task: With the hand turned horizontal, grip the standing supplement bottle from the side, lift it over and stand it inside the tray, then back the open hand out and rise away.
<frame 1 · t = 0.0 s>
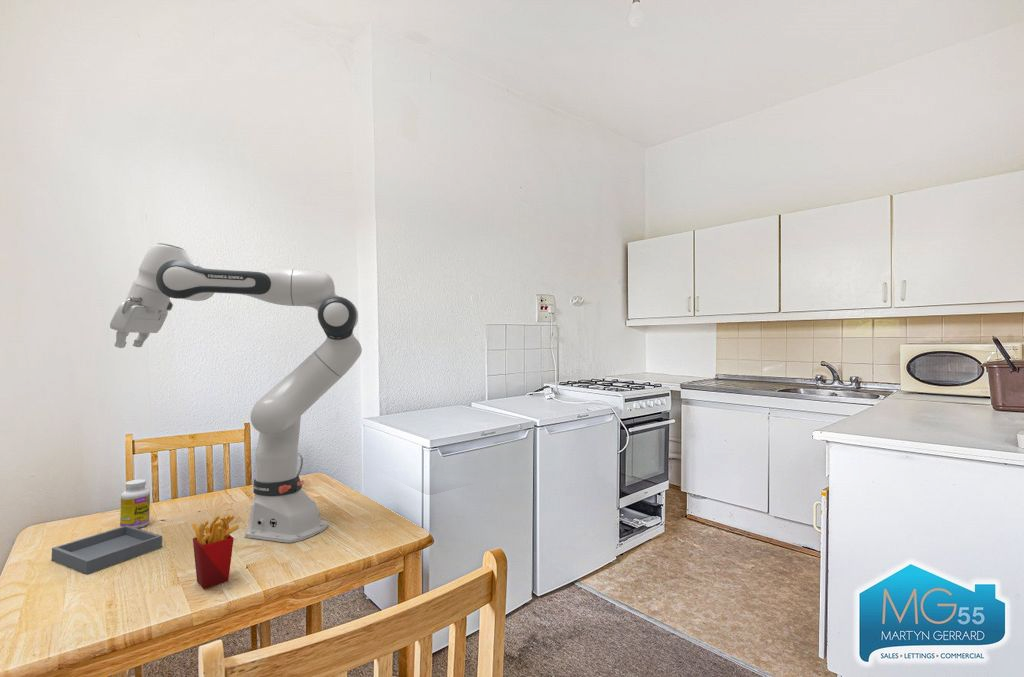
hand: (128, 347, 130), 52 cm above the table, tool tilted 20°, fingers open, 8 cm apart
tray: (108, 553, 121), on the table
french fries: (217, 582, 107), on the table
supplement bottle: (135, 526, 138), on the table
glass holder: (287, 490, 173), on the table
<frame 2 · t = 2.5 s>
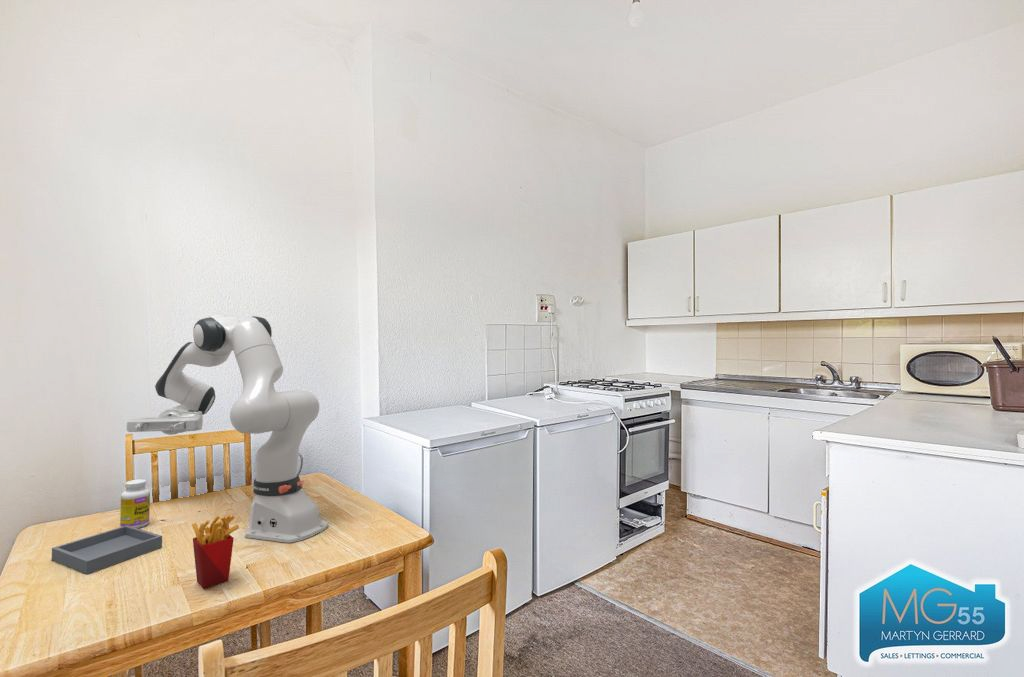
hand: (155, 428, 150), 26 cm above the table, tool horizontal, fingers open, 8 cm apart
nothing on the table moved.
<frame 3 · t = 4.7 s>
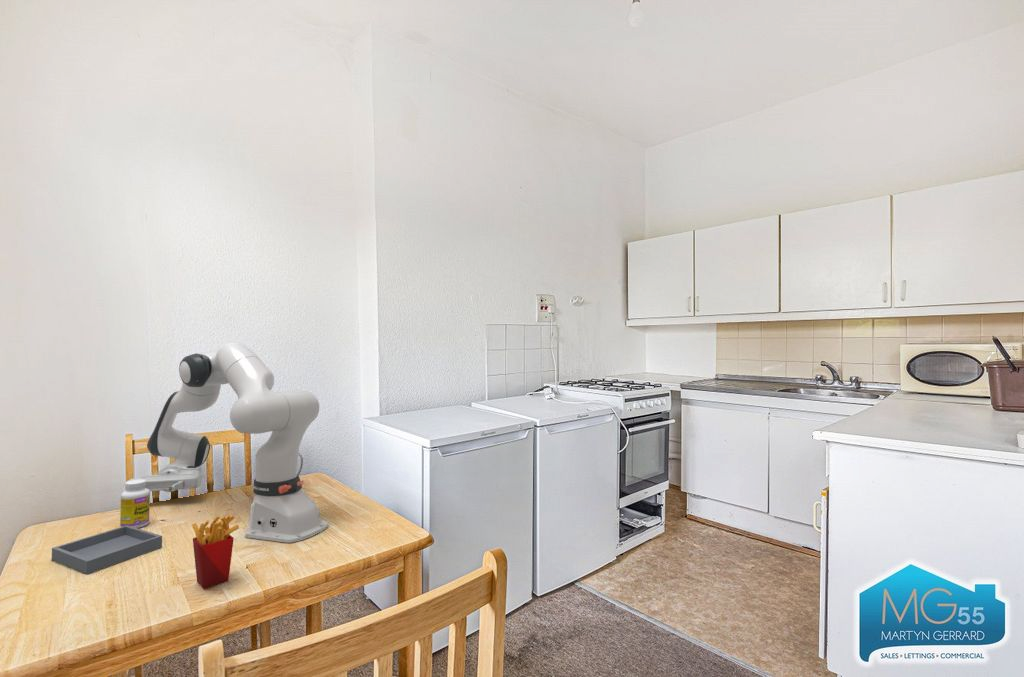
hand: (153, 489, 149), 7 cm above the table, tool horizontal, fingers open, 8 cm apart
nothing on the table moved.
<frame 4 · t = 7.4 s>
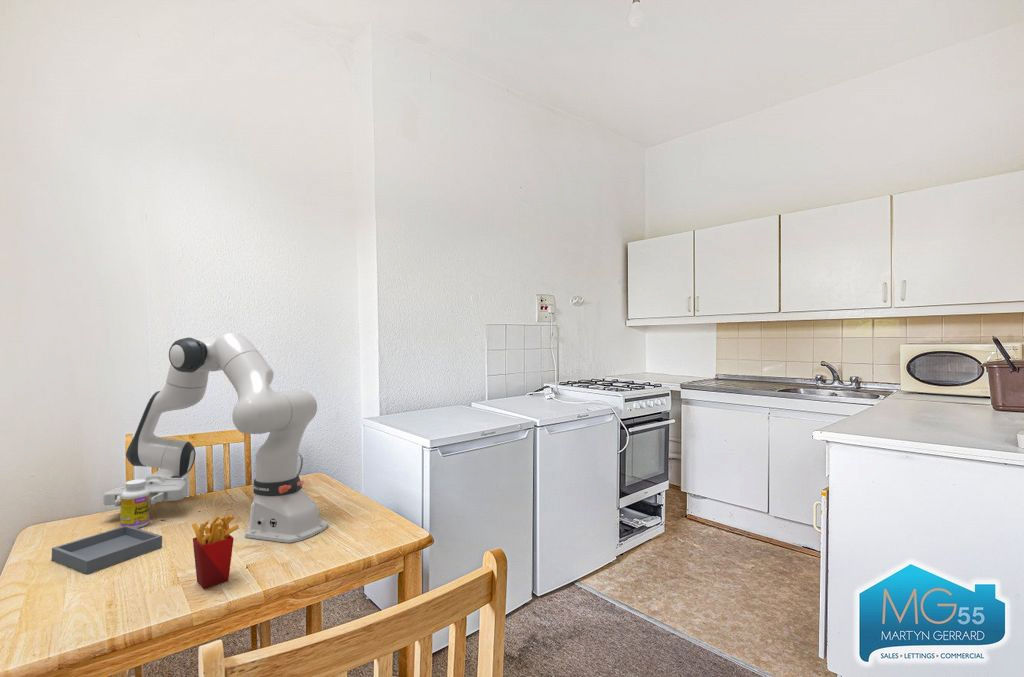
hand: (133, 502, 137), 7 cm above the table, tool horizontal, fingers closed on supplement bottle, 7 cm apart
supplement bottle: (135, 526, 138), on the table, touching gripper
everything else where it was.
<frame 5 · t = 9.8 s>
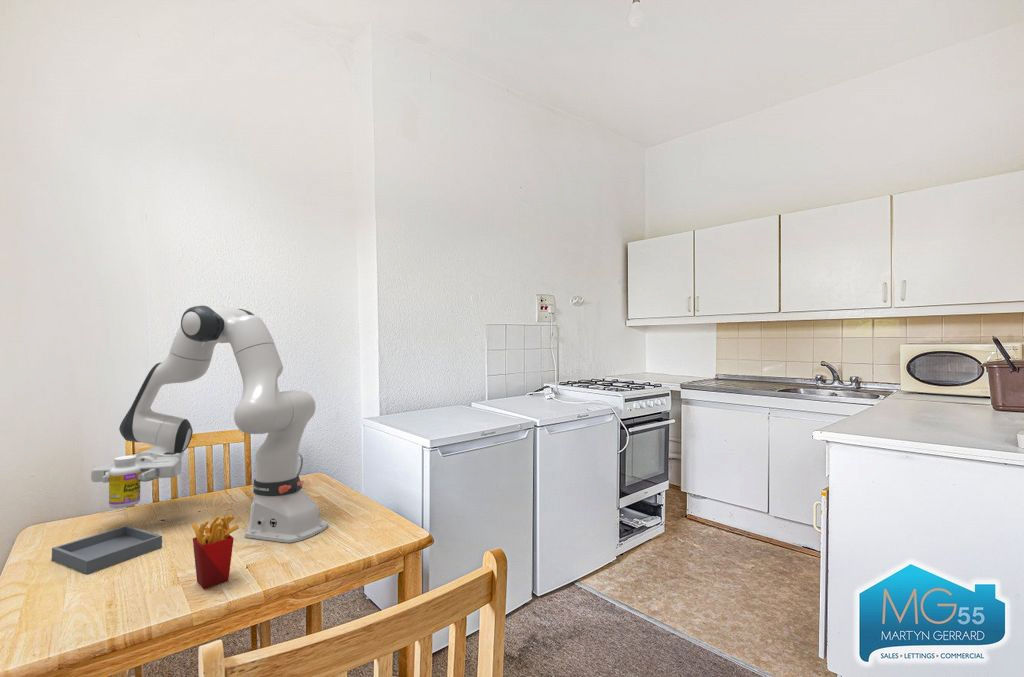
hand: (123, 478, 129), 16 cm above the table, tool horizontal, fingers closed on supplement bottle, 7 cm apart
supplement bottle: (124, 505, 130), point 9 cm above the table, touching gripper
everything else where it was.
when the fingers open (9 cm above the table, at t = 12.4 s): supplement bottle stays where it is, resting on tray.
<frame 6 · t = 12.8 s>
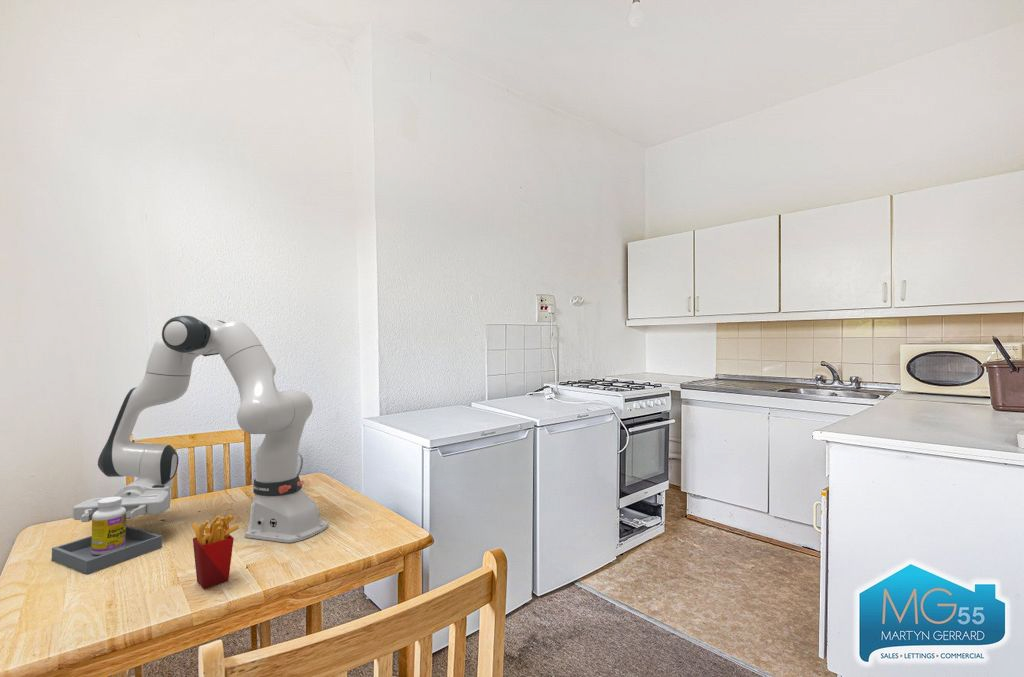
hand: (107, 517, 120), 9 cm above the table, tool horizontal, fingers open, 8 cm apart
supplement bottle: (108, 551, 121), point 1 cm above the table, touching tray
everything else where it was.
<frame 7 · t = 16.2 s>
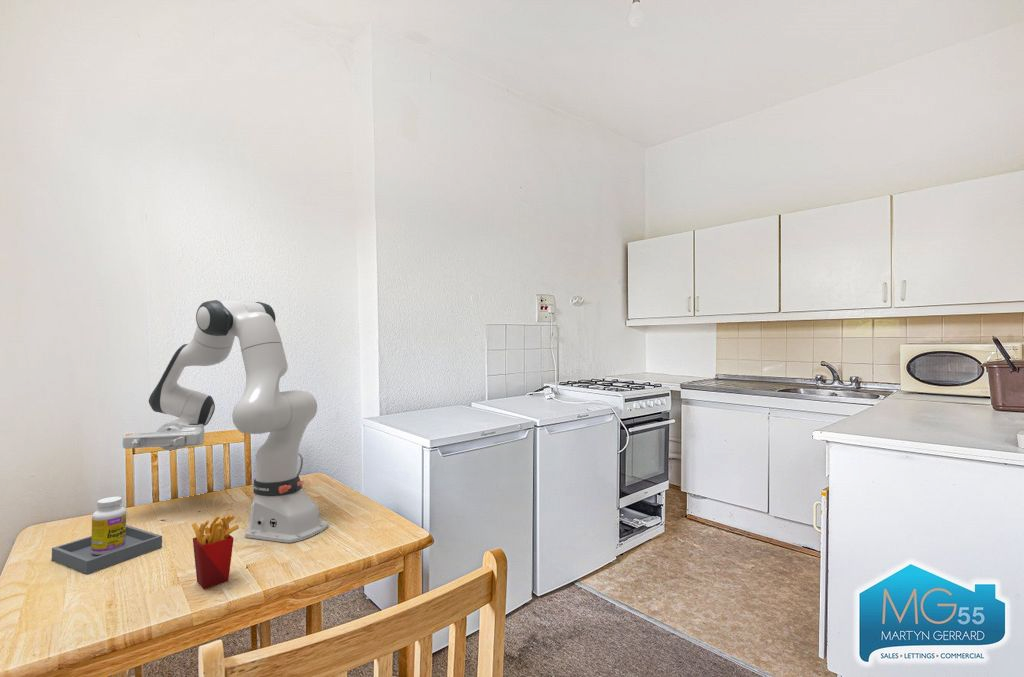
hand: (153, 444, 139), 24 cm above the table, tool horizontal, fingers open, 8 cm apart
nothing on the table moved.
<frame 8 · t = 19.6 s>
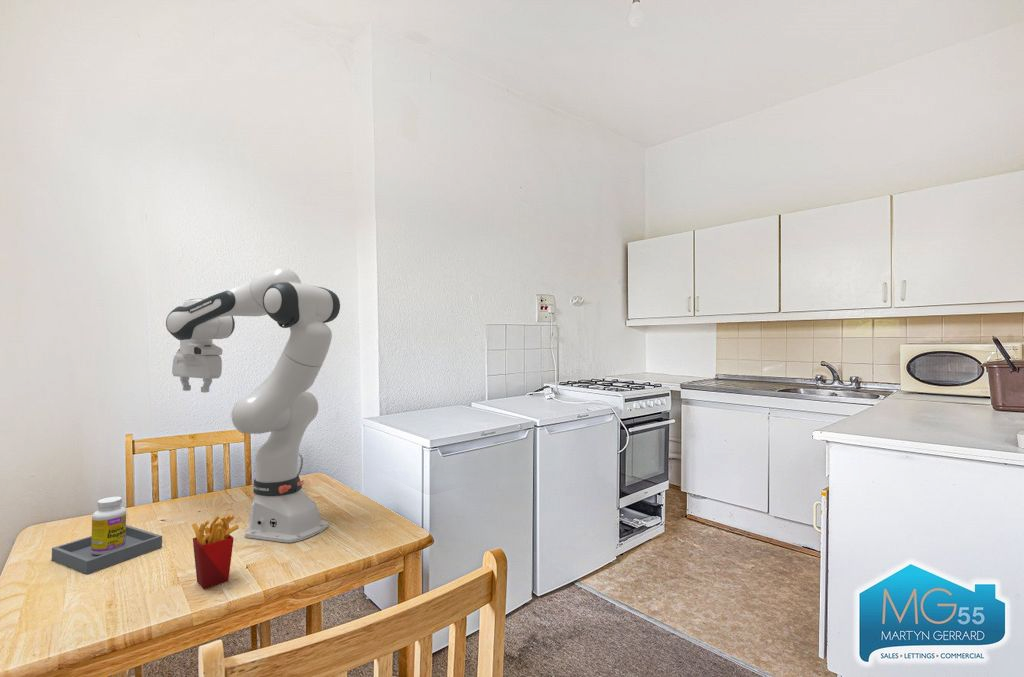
hand: (195, 391, 156), 37 cm above the table, tool pointing down, fingers open, 8 cm apart
nothing on the table moved.
at the end: supplement bottle inside the target area on the tray (0.0 cm from its centre), point 0.6 cm above the tray's base; supplement bottle tilted 0°; the gripper is holding nothing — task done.
